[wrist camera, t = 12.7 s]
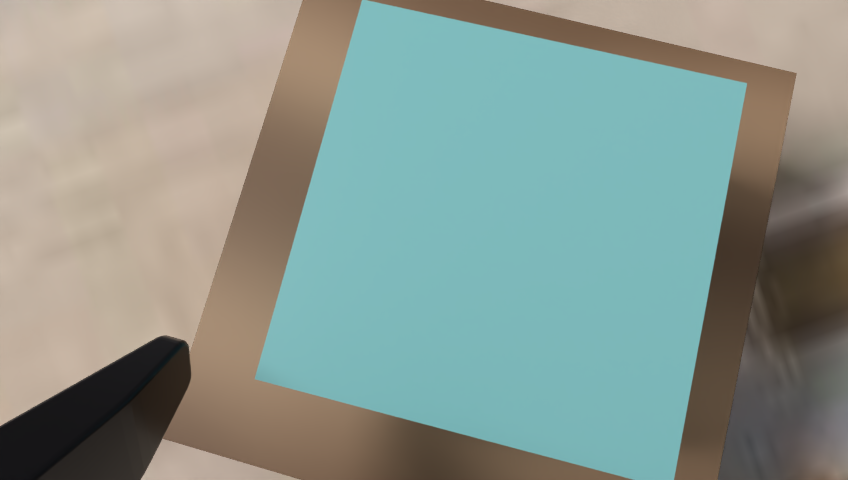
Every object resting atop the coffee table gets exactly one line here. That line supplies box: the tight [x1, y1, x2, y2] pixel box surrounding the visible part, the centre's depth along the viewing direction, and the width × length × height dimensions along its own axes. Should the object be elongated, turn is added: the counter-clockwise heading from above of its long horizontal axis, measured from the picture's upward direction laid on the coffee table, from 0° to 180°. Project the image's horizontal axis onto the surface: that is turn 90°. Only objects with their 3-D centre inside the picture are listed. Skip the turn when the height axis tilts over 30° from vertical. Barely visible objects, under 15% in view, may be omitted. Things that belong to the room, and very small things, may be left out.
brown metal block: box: [163, 0, 796, 480], centre depth 16 cm, size 12×12×5 cm
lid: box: [255, 0, 747, 480], centre depth 12 cm, size 7×7×4 cm
